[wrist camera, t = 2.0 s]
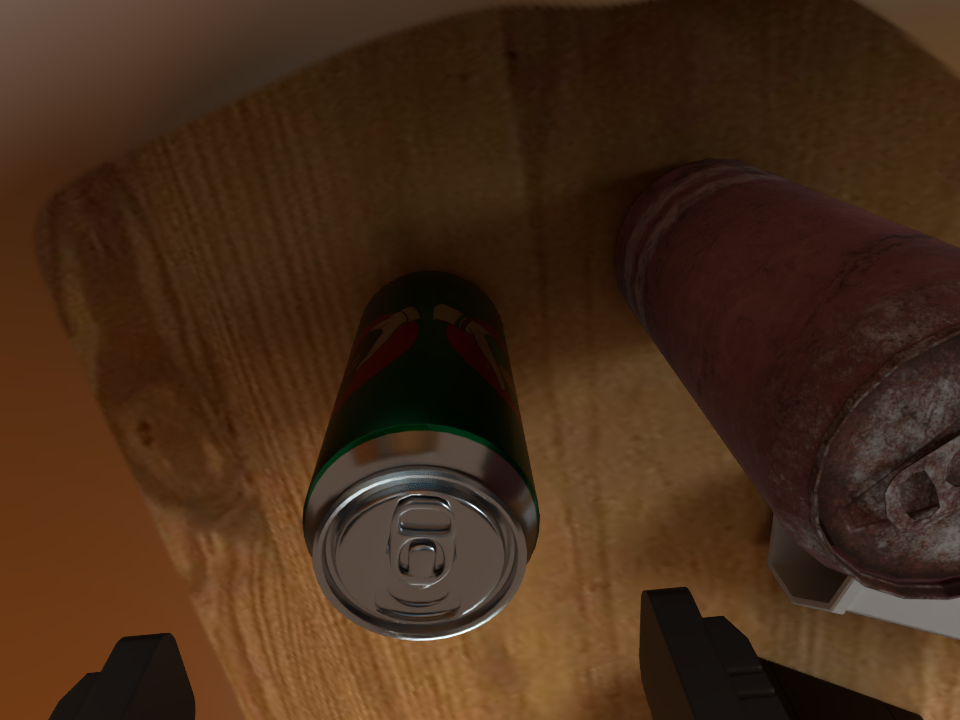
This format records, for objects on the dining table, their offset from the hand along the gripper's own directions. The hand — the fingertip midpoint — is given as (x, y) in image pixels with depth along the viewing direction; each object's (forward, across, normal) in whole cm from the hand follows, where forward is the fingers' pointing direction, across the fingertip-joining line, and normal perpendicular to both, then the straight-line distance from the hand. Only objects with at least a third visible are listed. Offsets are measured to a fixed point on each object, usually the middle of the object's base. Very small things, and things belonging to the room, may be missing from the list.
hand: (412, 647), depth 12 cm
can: (+14, -10, -3) cm, 17 cm away
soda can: (+14, 0, 0) cm, 14 cm away
